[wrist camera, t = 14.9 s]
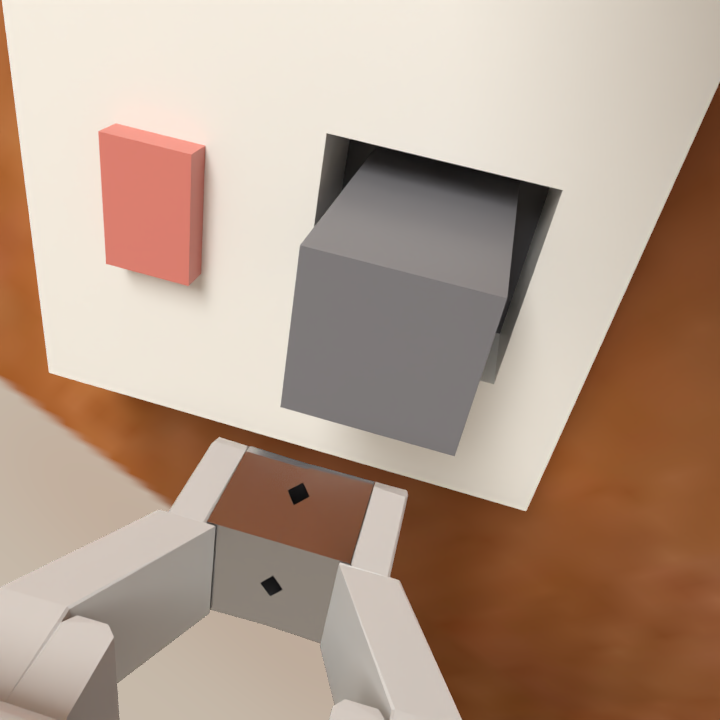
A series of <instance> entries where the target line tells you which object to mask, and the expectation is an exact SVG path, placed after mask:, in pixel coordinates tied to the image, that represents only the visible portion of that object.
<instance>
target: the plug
mask: <svg viewBox="0 0 720 720" xmlns="http://www.w3.org/2000/svg"><path fill="white" fill-rule="evenodd" d="M519 183H520V180H516V179H512V178H507V177H503V176H499V175H495V174H491V173H486V172H482V171H478V170H474V169H470V168H465V167H461V166H457V165H453V164H449V163H444V162H440V161H436V160H432V159H428V158H423V157H419V156H415V155H411V154H407V153H402V152H398V151H394V150H390V149H386V148H381V147H376V148H375V149H374V151H373V152H372V153H371V154H370V156H369V157H368V158H367V160H366V161H365V162H364V163H363V165H362V166H361V167H360V169H359V170H358V171H357V172H356V174H355V175H354V176H353V178H352V179H351V180H350V181H349V183H348V184H347V185H346V187H345V188H344V189H343V190H342V192H341V193H340V194H339V196H338V197H337V198H336V199H335V201H334V202H333V203H332V205H331V206H330V207H329V208H328V210H327V211H326V212H325V214H324V215H323V216H322V217H321V219H320V220H319V221H318V223H317V224H316V225H315V226H314V228H313V229H312V230H311V232H310V233H309V234H308V236H307V237H306V238H305V239H304V241H303V242H302V243H301V245H300V249H299V257H298V266H297V274H296V282H295V290H294V299H293V307H292V315H291V323H290V332H289V340H288V348H287V356H286V365H285V373H284V381H283V389H282V398H281V406H280V407H282V408H285V409H289V410H292V411H296V412H299V413H303V414H307V415H310V416H314V417H317V418H321V419H324V420H328V421H331V422H335V423H338V424H342V425H345V426H349V427H353V428H356V429H360V430H363V431H367V432H370V433H374V434H377V435H381V436H384V437H388V438H391V439H395V440H399V441H402V442H406V443H409V444H413V445H416V446H420V447H423V448H427V449H430V450H434V451H437V452H441V453H444V454H448V455H452V456H455V454H456V451H457V448H458V445H459V442H460V439H461V436H462V433H463V430H464V427H465V424H466V421H467V418H468V415H469V412H470V409H471V406H472V403H473V400H474V397H475V394H476V391H477V388H478V385H479V382H480V379H481V376H482V373H483V370H484V367H485V364H486V361H487V358H488V355H489V352H490V349H491V346H492V343H493V340H494V337H495V334H496V331H497V328H498V325H499V322H500V319H501V316H502V313H503V310H504V307H505V304H506V301H507V296H508V286H509V277H510V268H511V258H512V249H513V239H514V230H515V220H516V211H517V202H518V192H519Z"/></svg>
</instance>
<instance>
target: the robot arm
mask: <svg viewBox="0 0 720 720" xmlns="http://www.w3.org/2000/svg"><path fill="white" fill-rule="evenodd" d="M373 486H374V488H373ZM372 491H373V492H372ZM407 498H408V494H407V490H404V489H400V488H396V487H393V486H389V485H385V484H382V483H378V482H375V485H374V482H373V481H370V480H366V479H363V478H359V477H355V476H352V475H348V474H344V473H341V472H337V471H333V470H330V469H326V468H322V467H319V466H315V465H310V464H307V463H304V462H300V461H297V460H294V459H291V458H287V457H284V456H281V455H278V454H274V453H271V452H268V451H265V450H262V449H258V448H255V447H252V446H251V447H249V446H246V445H243V444H240V443H237V442H233V441H230V440H227V439H224V438H221V437H219V438H218V439H216V440H215V441H214V442H213V443H212V444H211V445H210V447H209V449H208V450H207V452H206V453H205V455H204V456H203V458H202V460H201V461H200V463H199V464H198V466H197V467H196V469H195V471H194V472H193V474H192V475H191V477H190V479H189V480H188V482H187V483H186V485H185V486H184V488H183V490H182V491H181V493H180V494H179V496H178V497H177V499H176V501H175V502H174V504H173V505H172V507H171V509H170V510H169V512H167V511H164V510H160V509H158V510H156V511H154V512H152V513H150V514H148V515H146V516H144V517H142V518H140V519H138V520H136V521H134V522H132V523H130V524H128V525H126V526H124V527H122V528H120V529H118V530H116V531H113V532H112V533H109V534H108V535H105V536H103V537H101V538H99V539H97V540H95V541H93V542H91V543H89V544H87V545H85V546H83V547H81V548H79V549H77V550H75V551H73V552H71V553H69V554H67V555H65V556H63V557H60V558H58V559H56V560H54V561H52V562H50V563H48V564H46V565H44V566H42V567H40V568H38V569H36V570H34V571H32V572H30V573H28V574H26V575H24V576H22V577H20V578H18V579H16V580H14V581H11V582H9V583H7V584H5V585H3V586H2V587H0V720H119V708H118V692H117V683H118V682H120V681H121V680H122V679H123V678H125V677H126V676H127V675H129V674H130V673H131V672H133V671H134V670H135V669H136V668H138V667H139V666H141V665H142V664H143V663H145V662H146V661H147V660H149V659H150V658H151V657H152V656H154V655H155V654H156V653H158V652H159V651H160V650H162V649H163V648H164V647H166V646H167V645H168V644H169V643H171V642H172V641H174V640H175V639H176V638H177V637H179V636H180V635H181V634H183V633H184V632H185V631H186V630H188V629H189V628H191V627H192V626H193V625H195V624H196V623H197V622H199V621H200V620H201V619H202V618H204V617H205V616H206V615H208V614H209V612H210V610H214V611H218V612H221V613H225V614H228V615H232V616H235V617H239V618H243V619H247V620H250V621H254V622H257V623H261V624H264V625H267V626H270V627H273V628H276V629H279V630H282V631H285V632H288V633H291V634H294V635H297V636H300V637H303V638H306V639H309V640H312V641H315V642H318V643H321V644H320V648H321V652H322V656H323V660H324V664H325V668H326V672H327V677H328V680H329V685H330V689H331V692H332V697H333V701H334V706H333V707H332V711H331V714H330V718H329V720H462V719H461V716H460V714H459V712H458V710H457V708H456V705H455V703H454V701H453V699H452V696H451V694H450V692H449V690H448V687H447V685H446V683H445V681H444V678H443V676H442V674H441V672H440V669H439V667H438V665H437V663H436V661H435V658H434V656H433V654H432V652H431V649H430V647H429V645H428V643H427V640H426V638H425V636H424V634H423V631H422V629H421V627H420V625H419V622H418V620H417V618H416V616H415V614H414V611H413V609H412V607H411V605H410V602H409V600H408V598H407V596H406V593H405V591H404V589H403V587H402V584H401V582H400V580H397V579H394V578H391V577H390V574H391V570H392V565H393V561H394V556H395V552H396V547H397V543H398V538H399V534H400V529H401V525H402V520H403V516H404V511H405V507H406V502H407Z"/></svg>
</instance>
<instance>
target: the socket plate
mask: <svg viewBox="0 0 720 720" xmlns="http://www.w3.org/2000/svg"><path fill="white" fill-rule="evenodd" d="M2 5H3V13H4V20H5V28H6V36H7V44H8V52H9V60H10V68H11V76H12V84H13V92H14V99H15V107H16V115H17V123H18V131H19V139H20V147H21V155H22V163H23V170H24V178H25V186H26V194H27V202H28V210H29V218H30V226H31V234H32V242H33V249H34V257H35V265H36V273H37V281H38V289H39V297H40V305H41V313H42V320H43V328H44V336H45V344H46V352H47V360H48V368H49V373H52V374H55V375H59V376H62V377H66V378H69V379H73V380H76V381H80V382H83V383H86V384H90V385H93V386H97V387H100V388H104V389H107V390H111V391H114V392H117V393H121V394H124V395H128V396H131V397H135V398H138V399H141V400H145V401H148V402H152V403H155V404H159V405H162V406H166V407H169V408H172V409H176V410H179V411H183V412H186V413H190V414H193V415H197V416H200V417H203V418H207V419H210V420H214V421H217V422H221V423H224V424H228V425H231V426H234V427H238V428H241V429H245V430H248V431H252V432H255V433H258V434H262V435H265V436H269V437H272V438H276V439H279V440H283V441H286V442H289V443H293V444H296V445H300V446H303V447H307V448H310V449H314V450H317V451H320V452H324V453H327V454H331V455H334V456H338V457H341V458H345V459H348V460H351V461H355V462H358V463H362V464H365V465H369V466H372V467H375V468H379V469H382V470H386V471H389V472H393V473H396V474H400V475H403V476H406V477H410V478H413V479H417V480H420V481H424V482H427V483H431V484H434V485H437V486H441V487H444V488H448V489H451V490H455V491H458V492H462V493H465V494H468V495H472V496H475V497H479V498H482V499H486V500H489V501H492V502H496V503H499V504H503V505H506V506H510V507H513V508H517V509H520V510H523V511H526V510H527V508H528V506H529V504H530V502H531V499H532V497H533V495H534V493H535V491H536V488H537V486H538V484H539V482H540V479H541V477H542V475H543V473H544V471H545V468H546V466H547V464H548V462H549V459H550V457H551V455H552V453H553V451H554V448H555V446H556V444H557V442H558V440H559V437H560V435H561V433H562V431H563V428H564V426H565V424H566V422H567V420H568V417H569V415H570V413H571V411H572V408H573V406H574V404H575V402H576V400H577V397H578V395H579V393H580V391H581V389H582V386H583V384H584V382H585V380H586V377H587V375H588V373H589V371H590V369H591V366H592V364H593V362H594V360H595V357H596V355H597V353H598V351H599V349H600V346H601V344H602V342H603V340H604V338H605V335H606V333H607V331H608V329H609V326H610V324H611V322H612V320H613V318H614V315H615V313H616V311H617V309H618V306H619V304H620V302H621V300H622V298H623V295H624V293H625V291H626V289H627V286H628V284H629V282H630V280H631V278H632V275H633V273H634V271H635V269H636V267H637V264H638V262H639V260H640V258H641V255H642V253H643V251H644V249H645V247H646V244H647V242H648V240H649V238H650V235H651V233H652V231H653V229H654V227H655V224H656V222H657V220H658V218H659V216H660V213H661V211H662V209H663V207H664V204H665V202H666V200H667V198H668V196H669V193H670V191H671V189H672V187H673V184H674V182H675V180H676V178H677V176H678V173H679V171H680V169H681V167H682V165H683V162H684V160H685V158H686V156H687V153H688V151H689V149H690V147H691V145H692V142H693V140H694V138H695V136H696V133H697V131H698V129H699V127H700V125H701V122H702V120H703V118H704V116H705V114H706V111H707V109H708V107H709V105H710V102H711V100H712V98H713V96H714V94H715V91H716V89H717V87H718V85H719V82H720V0H2ZM376 147H381V148H386V149H390V150H394V151H398V152H402V153H407V154H411V155H415V156H419V157H423V158H428V159H432V160H436V161H440V162H444V163H449V164H453V165H457V166H461V167H465V168H470V169H474V170H478V171H482V172H486V173H491V174H495V175H499V176H503V177H507V178H512V179H516V180H520V183H519V192H518V202H517V211H516V220H515V230H514V239H513V249H512V258H511V268H510V277H509V286H508V296H507V301H506V304H505V307H504V310H503V313H502V316H501V319H500V322H499V325H498V328H497V331H496V334H495V337H494V340H493V343H492V346H491V349H490V352H489V355H488V358H487V361H486V364H485V367H484V370H483V373H482V376H481V379H480V382H479V385H478V388H477V391H476V394H475V397H474V400H473V403H472V406H471V409H470V412H469V415H468V418H467V421H466V424H465V427H464V430H463V433H462V436H461V439H460V442H459V445H458V448H457V451H456V454H455V456H452V455H448V454H444V453H441V452H437V451H434V450H430V449H427V448H423V447H420V446H416V445H413V444H409V443H406V442H402V441H399V440H395V439H391V438H388V437H384V436H381V435H377V434H374V433H370V432H367V431H363V430H360V429H356V428H353V427H349V426H345V425H342V424H338V423H335V422H331V421H328V420H324V419H321V418H317V417H314V416H310V415H307V414H303V413H299V412H296V411H292V410H289V409H285V408H282V407H280V406H281V398H282V389H283V381H284V373H285V365H286V356H287V348H288V340H289V332H290V323H291V315H292V307H293V299H294V290H295V282H296V274H297V266H298V257H299V249H300V245H301V243H302V242H303V241H304V239H305V238H306V237H307V236H308V234H309V233H310V232H311V230H312V229H313V228H314V226H315V225H316V224H317V223H318V221H319V220H320V219H321V217H322V216H323V215H324V214H325V212H326V211H327V210H328V208H329V207H330V206H331V205H332V203H333V202H334V201H335V199H336V198H337V197H338V196H339V194H340V193H341V192H342V190H343V189H344V188H345V187H346V185H347V184H348V183H349V181H350V180H351V179H352V178H353V176H354V175H355V174H356V172H357V171H358V170H359V169H360V167H361V166H362V165H363V163H364V162H365V161H366V160H367V158H368V157H369V156H370V154H371V153H372V152H373V151H374V149H375V148H376Z"/></svg>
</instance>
